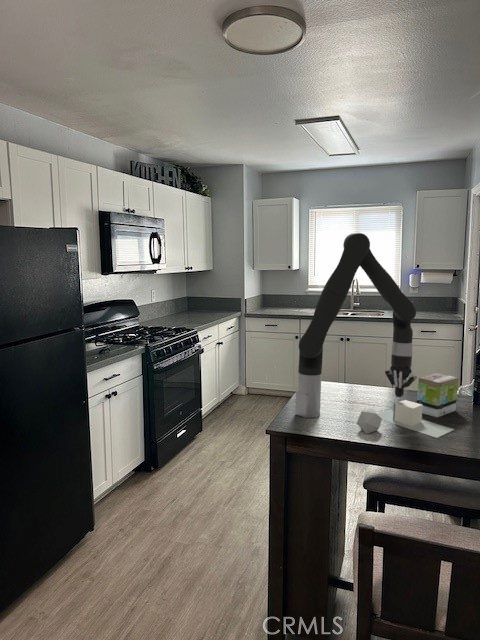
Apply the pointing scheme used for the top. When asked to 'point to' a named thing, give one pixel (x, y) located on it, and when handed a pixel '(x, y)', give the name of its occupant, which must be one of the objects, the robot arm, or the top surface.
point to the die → (369, 421)
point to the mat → (418, 425)
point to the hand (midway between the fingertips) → (399, 396)
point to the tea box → (437, 394)
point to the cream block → (407, 412)
